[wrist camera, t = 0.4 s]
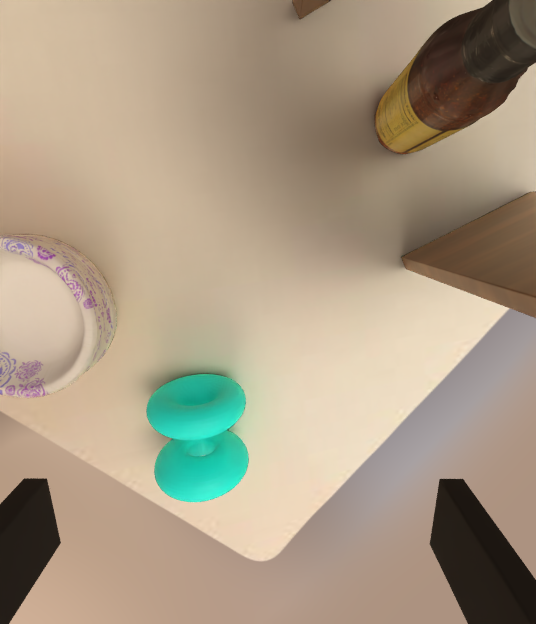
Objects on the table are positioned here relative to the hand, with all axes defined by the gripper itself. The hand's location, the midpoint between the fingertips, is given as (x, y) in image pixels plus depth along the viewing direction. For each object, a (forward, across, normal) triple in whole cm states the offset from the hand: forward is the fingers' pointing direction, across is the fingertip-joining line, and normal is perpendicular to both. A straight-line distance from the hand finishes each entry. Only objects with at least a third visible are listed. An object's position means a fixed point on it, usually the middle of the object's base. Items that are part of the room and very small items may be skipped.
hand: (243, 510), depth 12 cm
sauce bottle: (+28, +14, +18) cm, 36 cm away
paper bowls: (+28, -22, 0) cm, 36 cm away
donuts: (+28, -7, -13) cm, 31 cm away
